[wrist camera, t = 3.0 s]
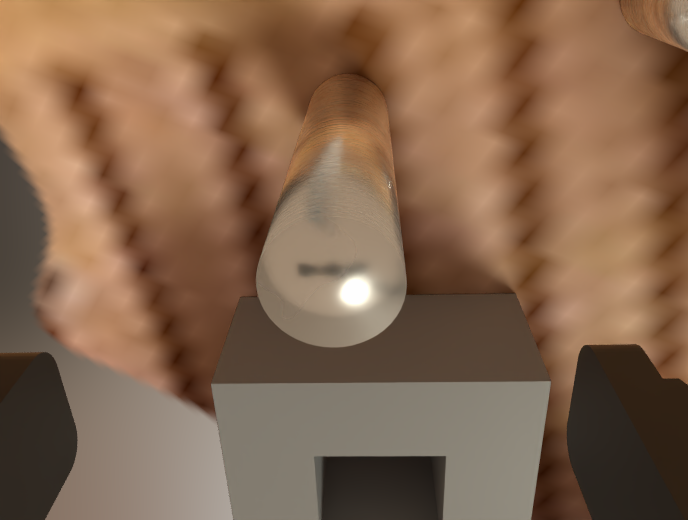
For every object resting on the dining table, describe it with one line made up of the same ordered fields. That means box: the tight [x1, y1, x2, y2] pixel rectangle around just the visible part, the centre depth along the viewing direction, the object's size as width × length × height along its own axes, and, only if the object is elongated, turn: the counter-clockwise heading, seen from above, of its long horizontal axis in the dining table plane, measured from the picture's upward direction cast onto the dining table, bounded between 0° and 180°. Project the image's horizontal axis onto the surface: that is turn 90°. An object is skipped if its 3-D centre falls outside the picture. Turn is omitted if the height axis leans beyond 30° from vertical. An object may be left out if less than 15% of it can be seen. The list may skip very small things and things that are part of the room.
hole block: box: [211, 294, 551, 520], centre depth 28 cm, size 12×12×6 cm
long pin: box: [256, 74, 407, 347], centre depth 18 cm, size 3×3×13 cm
